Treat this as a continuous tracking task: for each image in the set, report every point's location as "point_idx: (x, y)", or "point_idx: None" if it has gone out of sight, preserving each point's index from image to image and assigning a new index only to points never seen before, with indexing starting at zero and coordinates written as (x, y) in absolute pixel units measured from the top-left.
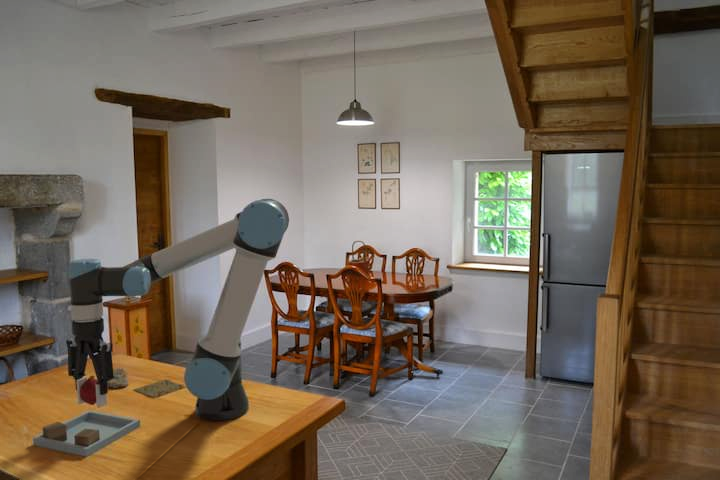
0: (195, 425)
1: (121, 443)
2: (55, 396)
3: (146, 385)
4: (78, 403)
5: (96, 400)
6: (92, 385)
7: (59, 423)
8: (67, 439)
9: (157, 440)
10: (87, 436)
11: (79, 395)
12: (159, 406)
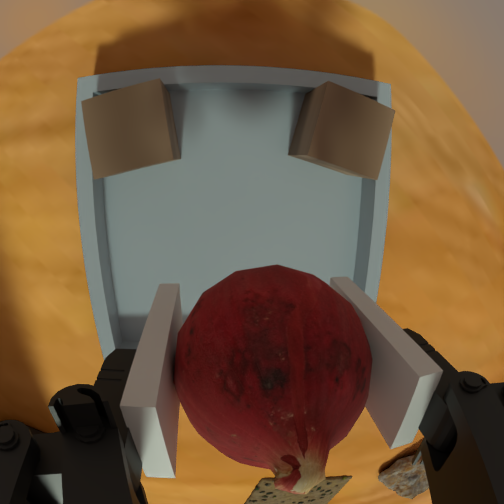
0: (13, 398)
1: (74, 233)
2: (499, 365)
3: (334, 495)
4: (343, 278)
5: (171, 305)
6: (219, 390)
7: (355, 163)
8: (289, 159)
9: (4, 296)
10: (91, 102)
11: (354, 304)
12: (202, 460)
